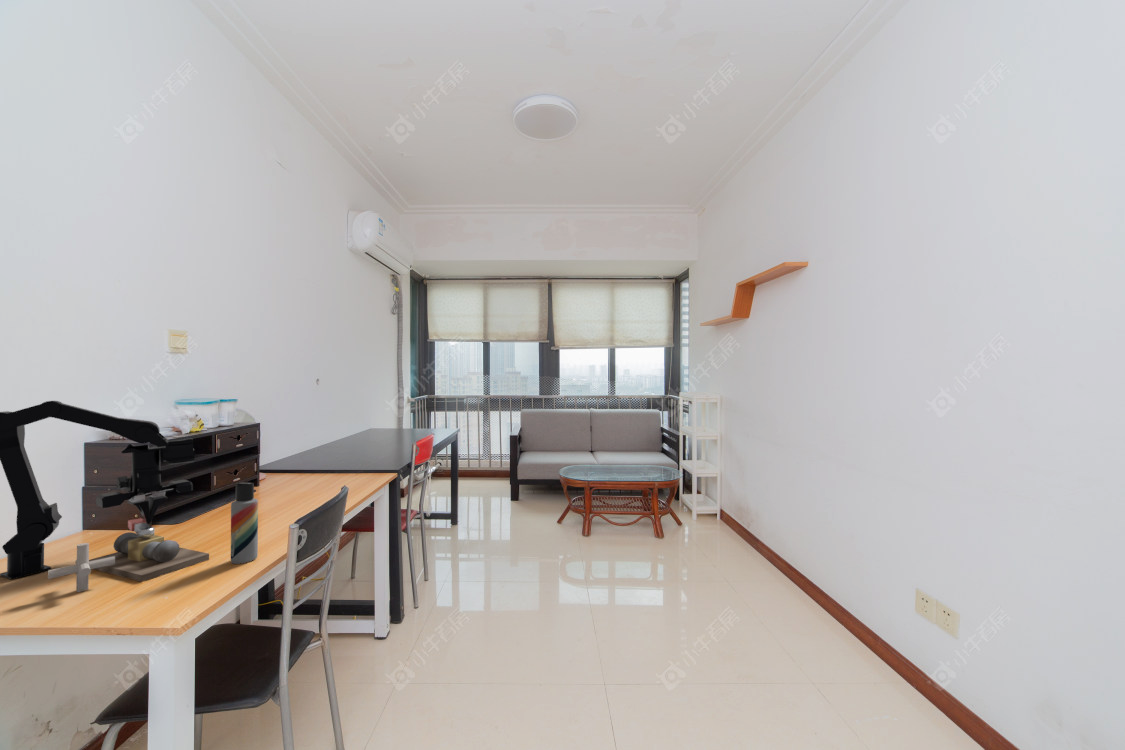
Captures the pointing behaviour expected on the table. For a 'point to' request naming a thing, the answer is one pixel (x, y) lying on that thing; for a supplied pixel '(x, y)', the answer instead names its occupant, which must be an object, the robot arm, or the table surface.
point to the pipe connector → (81, 567)
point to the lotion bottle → (244, 524)
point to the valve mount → (149, 557)
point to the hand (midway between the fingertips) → (148, 524)
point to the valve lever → (140, 528)
